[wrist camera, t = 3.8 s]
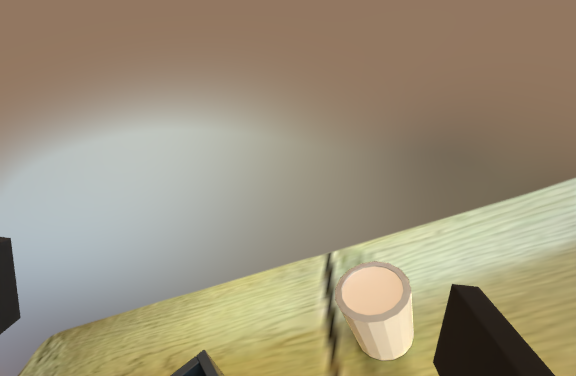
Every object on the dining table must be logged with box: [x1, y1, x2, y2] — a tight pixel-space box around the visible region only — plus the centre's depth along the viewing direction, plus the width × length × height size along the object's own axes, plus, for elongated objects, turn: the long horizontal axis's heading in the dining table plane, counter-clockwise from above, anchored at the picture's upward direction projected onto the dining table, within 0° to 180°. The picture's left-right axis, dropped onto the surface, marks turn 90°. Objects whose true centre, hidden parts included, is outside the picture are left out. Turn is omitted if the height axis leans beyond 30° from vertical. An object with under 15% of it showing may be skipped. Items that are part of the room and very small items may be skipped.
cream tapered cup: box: [335, 261, 414, 361], centre depth 35 cm, size 7×7×7 cm
